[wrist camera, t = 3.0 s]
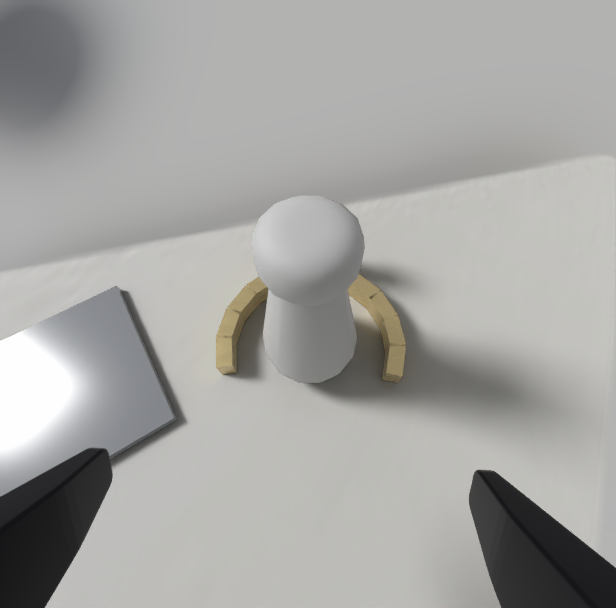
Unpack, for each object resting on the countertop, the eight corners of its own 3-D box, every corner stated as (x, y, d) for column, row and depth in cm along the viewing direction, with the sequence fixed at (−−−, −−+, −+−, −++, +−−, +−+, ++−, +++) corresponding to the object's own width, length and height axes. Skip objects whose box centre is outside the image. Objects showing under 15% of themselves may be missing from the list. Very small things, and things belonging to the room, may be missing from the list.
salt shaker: (262, 319, 25) (219, 180, 14) (340, 303, 26) (363, 156, 14) (275, 400, 23) (236, 314, 11) (362, 382, 23) (412, 281, 12)
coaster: (177, 419, 22) (174, 417, 22) (-8, 528, 20) (-16, 530, 19) (120, 289, 27) (116, 285, 26) (-37, 365, 24) (-45, 363, 24)
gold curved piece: (402, 383, 23) (429, 353, 18) (216, 374, 24) (188, 341, 18) (393, 252, 28) (413, 197, 22) (238, 247, 28) (221, 191, 23)
